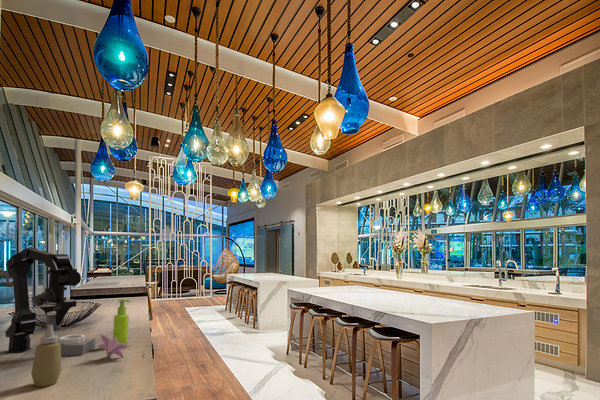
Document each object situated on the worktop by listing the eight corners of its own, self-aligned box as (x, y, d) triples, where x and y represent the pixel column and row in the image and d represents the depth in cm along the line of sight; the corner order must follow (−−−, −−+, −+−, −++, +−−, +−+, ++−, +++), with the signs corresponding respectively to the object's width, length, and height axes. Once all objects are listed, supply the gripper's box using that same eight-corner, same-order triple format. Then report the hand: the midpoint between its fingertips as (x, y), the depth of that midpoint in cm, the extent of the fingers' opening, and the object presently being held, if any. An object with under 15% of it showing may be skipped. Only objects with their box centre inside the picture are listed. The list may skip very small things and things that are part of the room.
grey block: (42, 331, 155) (44, 312, 156) (50, 328, 160) (51, 310, 161) (56, 331, 155) (57, 312, 156) (63, 328, 161) (64, 310, 162)
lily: (130, 363, 150) (136, 338, 156) (103, 356, 142) (109, 330, 148) (111, 369, 155) (117, 344, 161) (83, 363, 147) (90, 337, 153)
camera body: (45, 356, 156) (47, 340, 157) (61, 348, 168) (62, 334, 169) (82, 355, 158) (83, 339, 158) (95, 347, 169) (96, 333, 170)
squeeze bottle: (39, 380, 127) (44, 323, 129) (65, 379, 128) (69, 322, 130) (24, 389, 119) (29, 327, 121) (52, 388, 120) (56, 327, 122)
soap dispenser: (123, 348, 169) (126, 300, 171) (109, 347, 170) (112, 300, 173) (132, 345, 174) (134, 299, 177) (118, 344, 176) (120, 298, 178)
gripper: (22, 285, 157) (18, 326, 155) (50, 287, 149) (47, 330, 147) (50, 283, 167) (47, 321, 165) (78, 285, 159) (75, 325, 157)
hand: (53, 324), depth 158 cm, fingers closed on grey block, 5 cm apart
